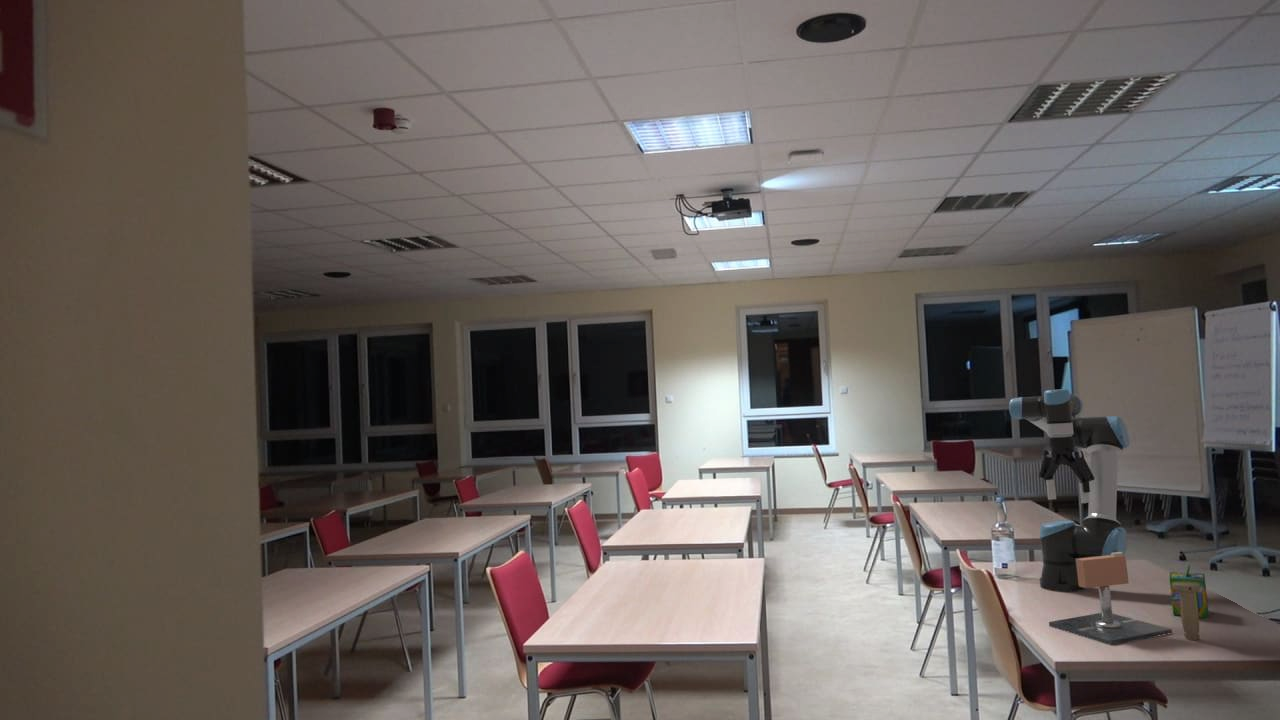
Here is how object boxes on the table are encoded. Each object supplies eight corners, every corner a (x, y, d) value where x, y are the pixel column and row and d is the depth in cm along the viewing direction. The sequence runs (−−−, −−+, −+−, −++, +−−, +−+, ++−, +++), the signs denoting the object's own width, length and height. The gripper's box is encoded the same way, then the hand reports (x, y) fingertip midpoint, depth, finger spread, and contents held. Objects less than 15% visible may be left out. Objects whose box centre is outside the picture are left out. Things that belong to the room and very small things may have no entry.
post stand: (1106, 615, 241) (1101, 574, 242) (1172, 633, 220) (1166, 588, 221) (1049, 626, 235) (1044, 583, 236) (1111, 645, 214) (1105, 598, 215)
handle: (1209, 641, 211) (1202, 585, 213) (1183, 641, 213) (1176, 586, 214) (1201, 636, 216) (1194, 581, 217) (1175, 636, 217) (1168, 582, 219)
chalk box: (1173, 608, 244) (1167, 560, 245) (1208, 610, 239) (1202, 562, 240) (1172, 615, 237) (1166, 566, 238) (1209, 618, 231) (1203, 568, 232)
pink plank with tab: (1078, 586, 229) (1075, 556, 230) (1121, 581, 231) (1117, 551, 232) (1085, 588, 226) (1082, 557, 227) (1128, 583, 228) (1125, 553, 229)
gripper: (1102, 435, 244) (1110, 503, 242) (1041, 435, 268) (1048, 496, 266) (1083, 437, 242) (1091, 505, 240) (1023, 436, 266) (1030, 499, 264)
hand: (1068, 501), depth 253 cm, fingers open, 13 cm apart
